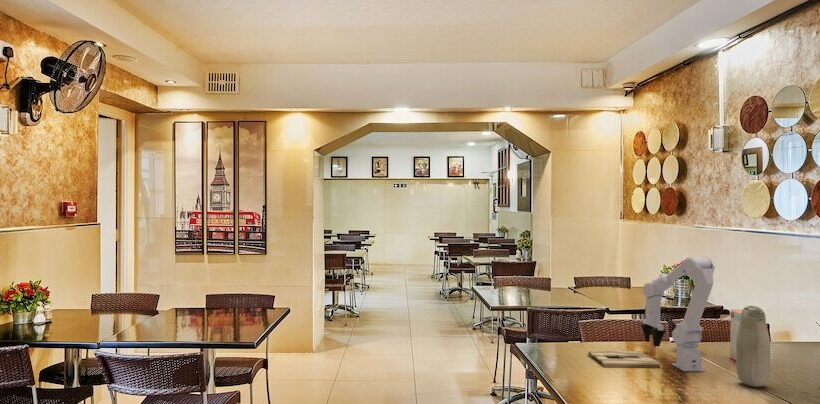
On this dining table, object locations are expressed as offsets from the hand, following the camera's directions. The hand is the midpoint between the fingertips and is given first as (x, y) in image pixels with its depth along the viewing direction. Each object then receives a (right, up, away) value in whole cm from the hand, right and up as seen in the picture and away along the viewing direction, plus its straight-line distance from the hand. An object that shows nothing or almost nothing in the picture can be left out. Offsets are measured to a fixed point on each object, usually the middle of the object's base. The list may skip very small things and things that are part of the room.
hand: (652, 343), depth 233 cm
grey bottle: (+19, -5, -38) cm, 42 cm away
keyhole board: (-16, -5, -9) cm, 19 cm away
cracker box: (+34, -6, -7) cm, 35 cm away
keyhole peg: (0, -5, 0) cm, 5 cm away
